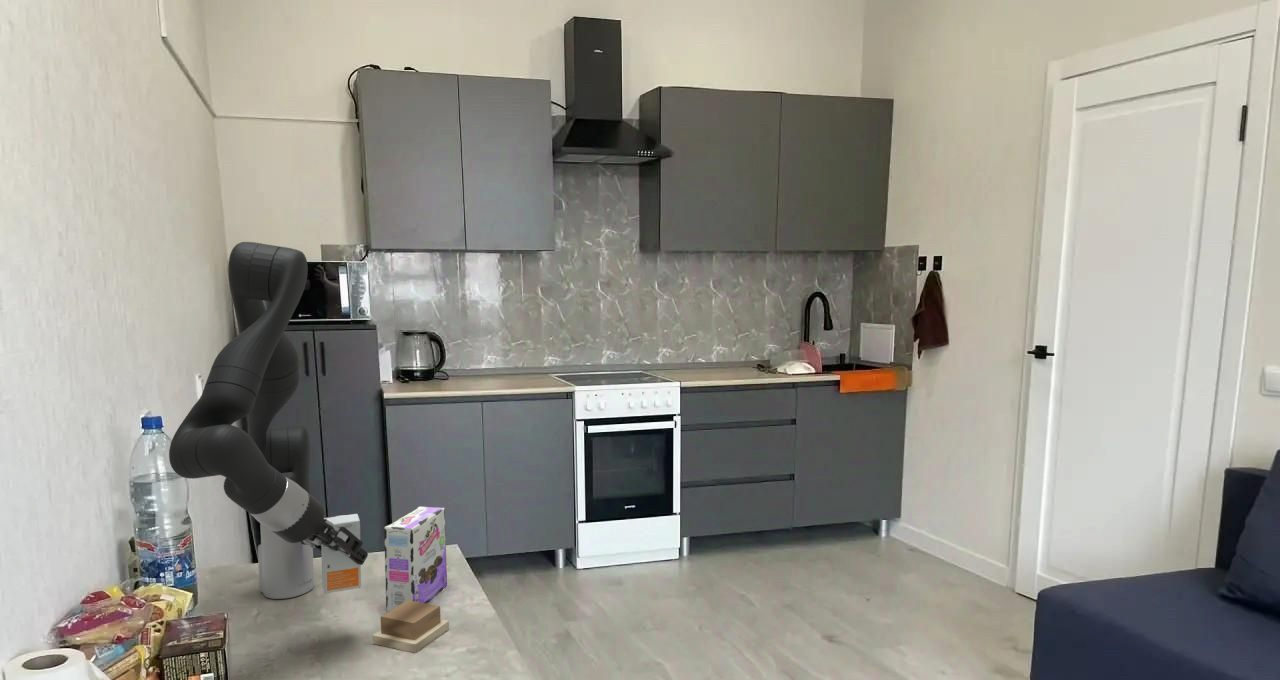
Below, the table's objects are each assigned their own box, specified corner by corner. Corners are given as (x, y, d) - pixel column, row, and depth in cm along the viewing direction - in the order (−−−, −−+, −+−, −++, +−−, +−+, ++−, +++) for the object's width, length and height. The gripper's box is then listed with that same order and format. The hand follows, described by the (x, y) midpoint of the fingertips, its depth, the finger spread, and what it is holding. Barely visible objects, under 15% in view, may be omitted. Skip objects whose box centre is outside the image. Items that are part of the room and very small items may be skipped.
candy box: (414, 615, 134) (411, 528, 133) (385, 613, 135) (382, 526, 134) (448, 585, 147) (446, 506, 146) (421, 583, 148) (419, 504, 147)
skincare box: (323, 595, 121) (321, 525, 120) (322, 585, 125) (319, 517, 124) (362, 588, 124) (360, 520, 123) (359, 579, 127) (357, 512, 126)
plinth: (372, 643, 123) (371, 618, 123) (407, 620, 132) (407, 596, 131) (415, 653, 120) (414, 626, 120) (448, 629, 128) (448, 604, 128)
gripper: (331, 493, 113) (390, 542, 124) (270, 481, 119) (332, 529, 131) (303, 537, 108) (367, 584, 120) (241, 522, 115) (307, 568, 126)
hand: (348, 555), depth 125 cm, fingers closed on skincare box, 6 cm apart
